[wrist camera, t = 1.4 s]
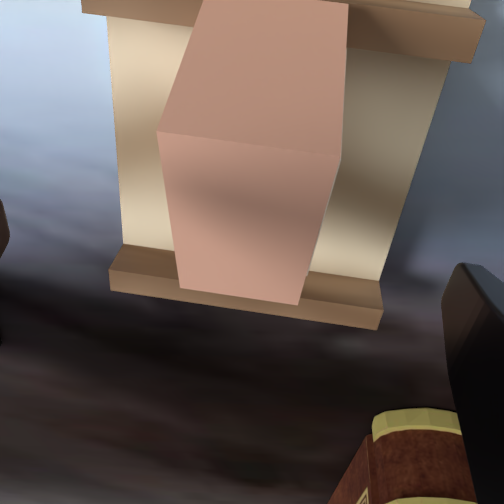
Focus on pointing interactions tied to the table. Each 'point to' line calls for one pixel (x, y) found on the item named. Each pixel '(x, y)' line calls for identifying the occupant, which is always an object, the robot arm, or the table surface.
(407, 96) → the ledge
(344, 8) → the frame block
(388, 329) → the table surface
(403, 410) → the decorative book
